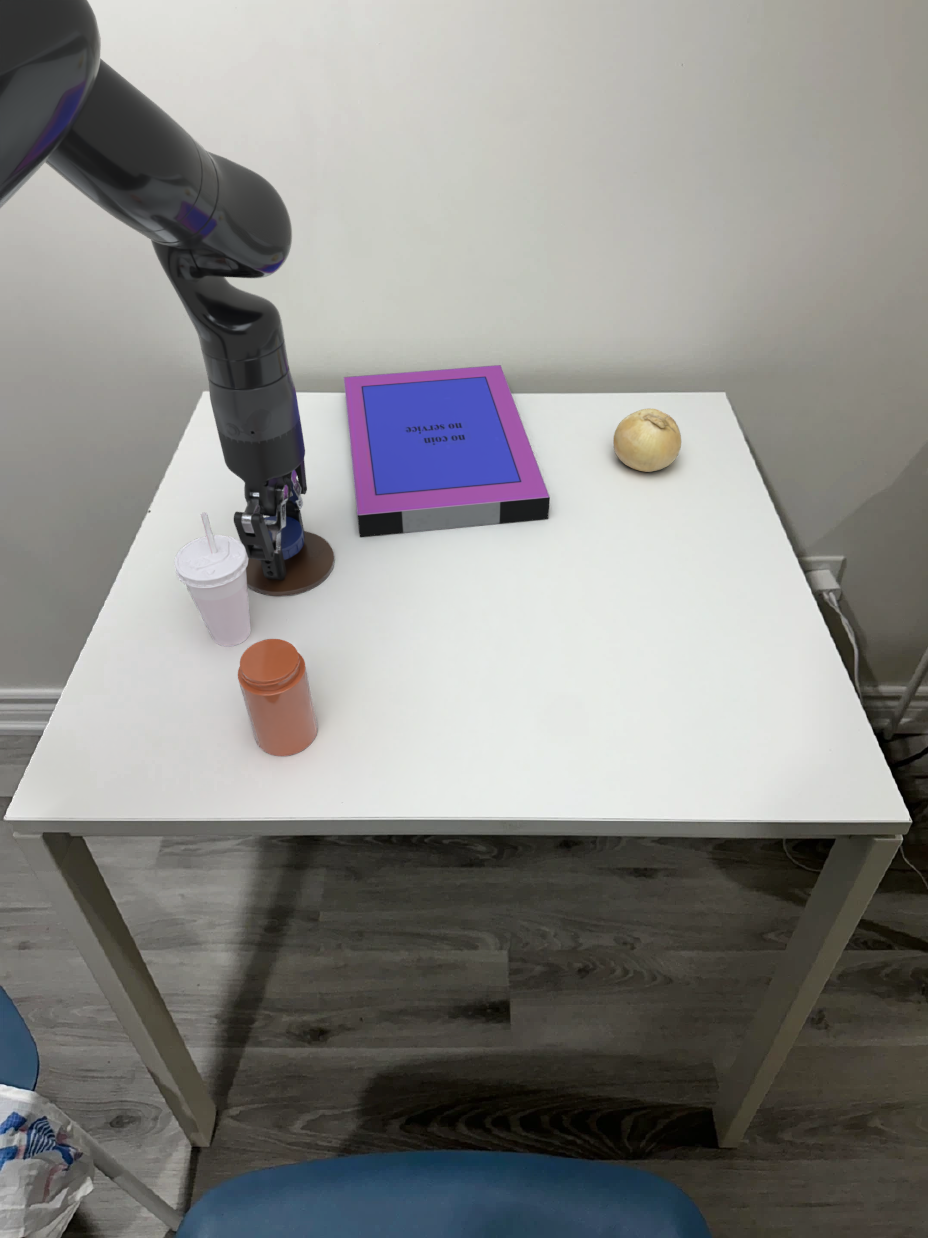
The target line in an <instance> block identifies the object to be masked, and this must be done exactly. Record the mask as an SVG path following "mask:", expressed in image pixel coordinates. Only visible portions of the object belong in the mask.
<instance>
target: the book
mask: <svg viewBox="0 0 928 1238" xmlns="http://www.w3.org/2000/svg"><path fill="white" fill-rule="evenodd" d="M343 384H344V394H345V395H344V396H345V403H346V404H345V405H346V414H347V415H346V416H347V426H348V434H349V435H348V436H349V446H350V453H351V455H350V457H351V466H352V475H353V484H354V485H353V486H354V496H355V505H356V516H357V524H358V531H359V532H358V533H359V538H366V537H367V538H368V537H378V536H387V535H388V536H389V535H400V534H408V533H419V532H429V531H430V532H431V531H439V530H450V529H451V530H452V529H461V528H471V527H480V526H482V527H483V526H491V525H492V526H493V525H502V524H512V523H522V522H533V521H543V520H544V521H545V520H548V519H549V512H550V499H551V496H550V494H549V491H548V488H547V485H546V483H545V480H544V478H543V475H542V472H541V470H540V466H539V465H538V460H537V459H536V457H535V453H534V450H533V448H532V445H531V443H530V440H529V437H528V435H527V431H526V429H525V427H524V423H523V421H522V418H521V416H520V413H519V411H518V407H517V406H516V402H515V400H514V399H515V398H514V397H513V394H512V391H511V389H510V387H509V386H510V385H509V383H508V380H507V378H506V374H505V372H504V370H503V368H502V365H501V364H494V365H482V366H481V365H480V366H469V367H468V366H467V367H457V368H456V367H454V368H443V369H429V370H417V371H405V372H391V373H379V374H367V375H352V376H343Z"/></svg>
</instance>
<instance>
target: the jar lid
mask: <svg viewBox="0 0 928 1238" xmlns="http://www.w3.org/2000/svg"><path fill="white" fill-rule="evenodd" d="M264 519H266V520H270V521H276V520H277V518H276V516H264ZM304 531H305V530H304ZM304 531H303V530H302V526H301V524H300V523H299V522H298V521H297V520H295V519H293V518H291V517H288V516H286V527H285V528H284V529H283V530H281V548H282V553H283V558H284V560H286V559H288V558H291V557H292V556H294V555H295V554H297V553H298V552H299V551H300V550H301V549H302V547H303V545H304V538H305V536H304ZM268 532H269V536H270V539H271V541H272V532H271V531H268ZM257 560H259V559H257Z"/></svg>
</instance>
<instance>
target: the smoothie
mask: <svg viewBox="0 0 928 1238" xmlns="http://www.w3.org/2000/svg"><path fill="white" fill-rule="evenodd" d="M200 517H201V522H202V525H203V529H204V532H205V535H204V536H200V537H198V538H195V539H193V540H191V541H189V542H187V543H186V544H185V545H184V546H182V547H181V548H180V549H179V550H178V551H177V553H176V555H175V557H174V560H173V564H174V569H175V575H176V576H177V578H178V579H179V581H180V582H181V583H183V584H185V585H184V586H185V587H186V589H187V591H188V593H189V594H190V597H191V598H192V600H193V602H194V604H195V606H196V608H197V610H198V612H199V614H200V616H201V618H202V621H203V623H204V625H205V626H206V629H207V631H208V632H209V634H210V636H211V638H212V640H213V642H214V643H215V644H217V645H219V646H221V647H222V646H223V647H233V646H237V645H240V644H242V643H243V642H245V641H246V640H248V638H249V637H250V635H251V631H252V627H251V615H250V603H249V591H248V587H247V578H246V567H247V565H248V556H247V553H246V549H245V547H244V545H243V544H242V543H241V541H240V539H238V538H236V537H233V536H230V535H224V534H214V533H213V530H212V527H211V523H210V519H209V516H208V513H207V512H206V511H204V512H201V513H200Z"/></svg>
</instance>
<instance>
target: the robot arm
mask: <svg viewBox="0 0 928 1238" xmlns="http://www.w3.org/2000/svg"><path fill="white" fill-rule="evenodd" d="M101 39H102V38H101V33H100V30H99V25H98V20H97V17H96V14H95V12H94V9H93V8H92V6H91V4H90V2H89V1H88V0H0V210H1V209H2V208H3V207H4V206H5V205H6V204H7V203H8V202H9V201H10V200H11V199H12V198H13V197H14V196H15V195H16V193H17V192H19V191H20V190H21V188H23V187H24V185H25V184H26V183H27V182H28V181H29V180H30V179H31V178H32V177H33V176H34V175H35V174H36V173H37V172H38V171H40V169H41V168H42V167H43V166H44V164H47V165H48V166H49V167H50V168H51V169H52V170H54V171H55V172H56V174H58V175H60V176H61V177H62V178H63V179H64V180H65V181H67V182H68V183H69V184H70V185H71V186H72V187H74V188H75V190H77V191H79V192H80V193H81V194H82V195H84V196H85V197H86V198H88V199H89V200H90V201H92V202H93V203H94V204H95V205H97V206H98V207H99V208H101V209H102V210H103V211H105V212H106V213H108V214H109V215H110V216H112V217H113V218H115V219H116V220H118V221H119V222H121V223H123V224H124V225H126V226H128V227H129V228H131V229H132V230H134V231H135V232H137V233H139V234H140V235H142V236H144V237H146V238H147V239H148V240H150V242H151V245H152V248H153V251H154V253H155V255H156V257H157V260H158V261H159V264H160V266H161V268H162V270H163V272H164V273H165V275H166V277H167V279H168V280H169V283H170V284H171V286H172V288H173V289H174V292H175V293H176V295H177V297H178V299H179V301H180V302H181V304H182V306H183V308H184V311H185V313H186V314H187V316H188V318H189V320H190V321H191V323H192V325H193V327H194V329H195V331H196V334H197V338H198V342H199V345H200V350H201V354H202V359H203V362H204V366H205V367H204V368H205V371H206V375H207V380H208V393H209V400H210V404H211V409H212V413H213V417H214V421H215V426H216V430H217V434H218V435H217V436H218V439H219V443H220V448H221V451H222V456H223V461H224V463H225V465H226V467H227V469H228V470H229V471H230V472H231V473H232V474H234V475H235V476H237V477H238V478H239V479H240V480H241V481H243V483H244V487H243V489H244V490H243V491H244V494H243V495H244V499H245V502H246V504H247V505H246V507H245V509H244V511H235V512H234V514H233V523H234V526H235V530H236V532H237V535H238V538H239V541H240V542H241V543H242V544H243V545H244V547H245V549H246V553H247V556H248V558H249V559H259V560H260V561H261V566H262V570H263V575H264V577H265V578H267V579H274V580H284V578H285V576H286V574H287V573H286V568H285V563H284V558H283V553H282V548H281V530H283V529H284V528H285V527H286V516H288V517H291V518H293V519H295V520H297V521H298V522H299V523H300V524H301V526H302V530H303V531H305V528H304V523H303V517H302V516H303V515H302V511H301V510H302V509H303V507H304V501H303V498H302V495H306V494H307V491H308V485H307V474H306V463H305V456H306V447H305V441H304V435H303V434H304V433H303V428H302V422H301V413H300V409H299V402H298V395H297V390H296V385H295V382H294V379H293V376H292V373H291V369H290V365H289V358H288V352H287V346H286V340H285V333H284V332H285V331H284V326H283V322H282V321H283V320H282V317H281V314H280V311H279V309H278V307H277V306H276V305H275V304H274V303H273V302H272V301H271V300H269V299H267V298H265V297H263V296H260V295H258V294H254V293H251V292H249V291H245V290H243V289H240V288H238V287H236V286H234V285H233V284H232V283H230V282H229V281H228V279H227V278H234V279H235V278H236V279H262V278H267V277H269V276H272V275H274V274H275V273H276V272H278V271H279V270H280V269H281V268H282V267H283V265H284V264H285V263H286V261H287V259H288V257H289V255H290V253H291V249H292V243H293V227H292V221H291V220H292V219H291V216H290V213H289V210H288V208H287V205H286V203H285V202H284V200H283V198H282V196H281V195H280V193H279V192H278V190H277V189H276V187H275V186H273V185H272V184H271V182H270V181H268V180H267V179H266V178H265V177H263V176H262V175H261V174H259V173H257V172H255V171H254V170H252V169H251V168H250V169H249V168H248V167H245V166H244V165H241V164H239V163H237V162H235V161H233V160H231V159H229V158H227V157H224V156H221V155H219V154H216V153H213V152H210V151H208V150H206V149H205V147H203V146H202V145H201V144H200V143H199V142H198V141H197V139H195V138H194V137H193V136H192V135H191V134H190V133H189V131H187V130H186V129H185V128H184V127H183V126H182V125H181V124H180V123H179V122H177V121H176V120H175V119H174V118H173V117H172V116H171V115H170V114H168V113H167V112H166V111H165V110H164V109H163V108H161V107H160V106H159V105H158V104H157V103H155V101H153V100H152V99H151V98H149V97H148V96H147V95H146V94H145V93H143V92H142V91H141V90H140V89H138V88H137V87H136V86H135V85H134V84H132V83H131V82H130V81H129V80H127V79H126V78H125V77H124V76H122V75H121V74H120V73H119V72H117V71H116V70H115V69H114V68H113V67H112V66H111V65H109V63H107V62H106V61H104V60H103V59H102V58H101V50H102V49H101V47H102V46H101V45H102V44H101V43H102V42H101ZM269 516H276V518H277V520H276V521H270V520H266V519H264V518H265V517H269ZM268 531H271V532H272V541H271V539H270V536H269V532H268ZM304 535H305V534H304Z"/></svg>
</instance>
